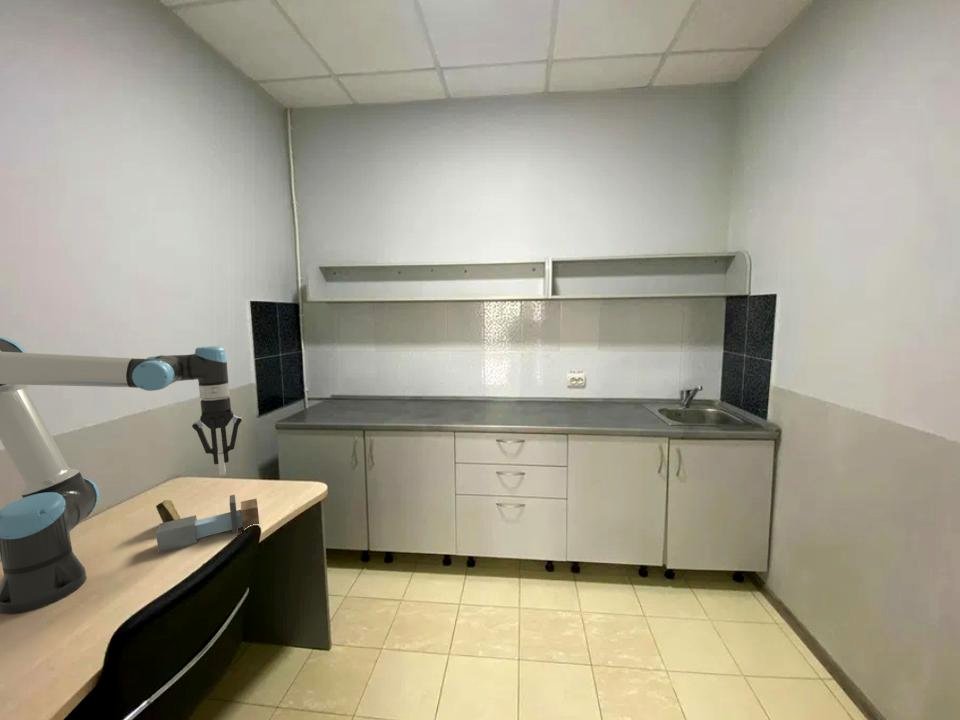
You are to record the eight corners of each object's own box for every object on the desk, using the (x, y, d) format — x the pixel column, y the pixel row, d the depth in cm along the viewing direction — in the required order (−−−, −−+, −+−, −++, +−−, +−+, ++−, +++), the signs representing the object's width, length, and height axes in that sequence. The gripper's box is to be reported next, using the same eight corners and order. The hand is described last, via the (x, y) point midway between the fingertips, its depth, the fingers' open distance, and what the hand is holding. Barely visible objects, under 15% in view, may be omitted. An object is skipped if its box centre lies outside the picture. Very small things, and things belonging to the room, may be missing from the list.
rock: (160, 514, 137) (140, 525, 127) (176, 491, 138) (158, 501, 128) (189, 530, 138) (173, 542, 128) (205, 508, 139) (190, 518, 129)
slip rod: (181, 546, 120) (177, 515, 119) (184, 536, 126) (180, 506, 125) (252, 528, 129) (249, 498, 128) (251, 519, 135) (248, 491, 134)
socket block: (243, 532, 128) (241, 510, 127) (242, 522, 134) (240, 501, 133) (259, 527, 130) (257, 506, 129) (258, 518, 136) (256, 498, 135)
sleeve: (158, 553, 118) (155, 533, 117) (162, 543, 123) (159, 523, 122) (196, 543, 122) (194, 524, 121) (198, 534, 128) (196, 515, 127)
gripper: (187, 402, 118) (196, 482, 120) (240, 397, 124) (247, 472, 127) (190, 398, 124) (197, 474, 127) (240, 393, 131) (246, 465, 133)
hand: (222, 473), depth 127 cm, fingers closed
